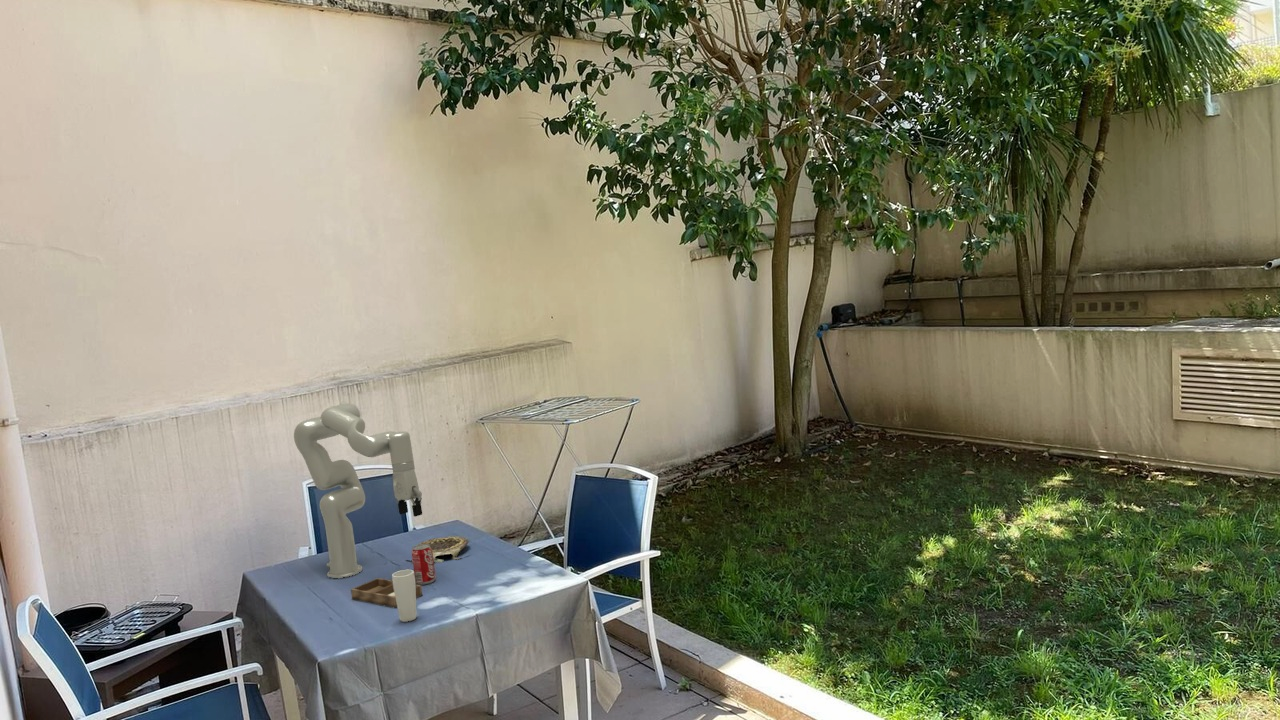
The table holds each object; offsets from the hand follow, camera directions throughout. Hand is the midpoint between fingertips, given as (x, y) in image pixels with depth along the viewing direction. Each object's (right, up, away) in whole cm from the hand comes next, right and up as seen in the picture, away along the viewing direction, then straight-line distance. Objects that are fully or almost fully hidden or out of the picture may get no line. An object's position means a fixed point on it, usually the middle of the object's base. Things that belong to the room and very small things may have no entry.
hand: (410, 514), depth 303 cm
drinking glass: (+8, -27, -33) cm, 44 cm away
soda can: (+5, -25, +1) cm, 25 cm away
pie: (+3, -22, +35) cm, 42 cm away
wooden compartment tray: (-5, -26, -11) cm, 29 cm away
